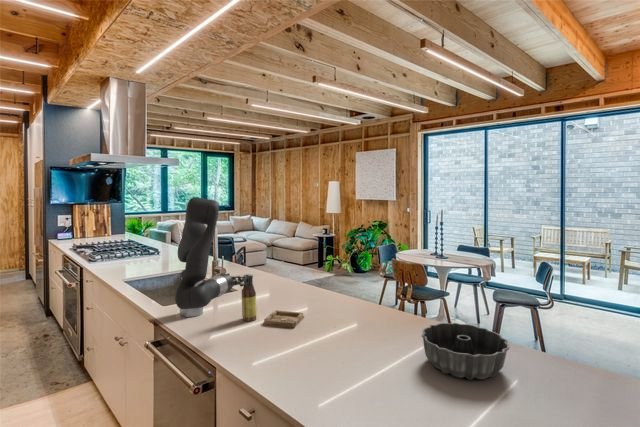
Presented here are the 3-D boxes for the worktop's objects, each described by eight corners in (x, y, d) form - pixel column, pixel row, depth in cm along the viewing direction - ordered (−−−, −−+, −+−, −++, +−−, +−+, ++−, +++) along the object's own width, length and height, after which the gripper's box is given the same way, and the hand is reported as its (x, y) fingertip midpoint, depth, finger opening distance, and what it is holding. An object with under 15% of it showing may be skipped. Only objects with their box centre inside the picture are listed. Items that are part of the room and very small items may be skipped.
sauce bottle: (259, 318, 165) (259, 274, 164) (251, 322, 159) (251, 277, 158) (247, 316, 168) (247, 272, 166) (238, 320, 162) (238, 275, 161)
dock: (294, 328, 153) (294, 323, 153) (263, 324, 157) (263, 320, 156) (304, 317, 167) (304, 312, 167) (275, 314, 170) (275, 310, 170)
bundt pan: (503, 397, 102) (504, 362, 102) (410, 372, 116) (411, 341, 116) (511, 361, 125) (513, 332, 124) (433, 344, 139) (433, 317, 138)
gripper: (235, 276, 134) (254, 268, 150) (200, 274, 138) (222, 266, 154) (235, 297, 135) (254, 286, 151) (201, 294, 138) (222, 284, 154)
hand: (238, 276), depth 152 cm, fingers open, 8 cm apart
